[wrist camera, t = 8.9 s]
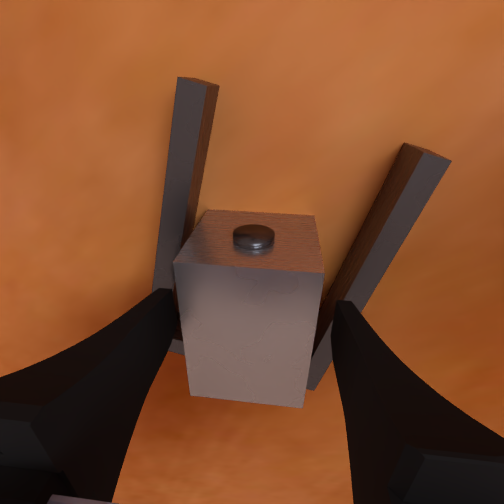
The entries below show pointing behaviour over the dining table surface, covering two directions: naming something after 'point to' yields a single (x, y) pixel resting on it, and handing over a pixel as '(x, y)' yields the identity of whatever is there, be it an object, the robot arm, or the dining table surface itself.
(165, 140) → the dining table surface
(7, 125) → the dining table surface
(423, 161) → the channel bracket
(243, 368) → the block
